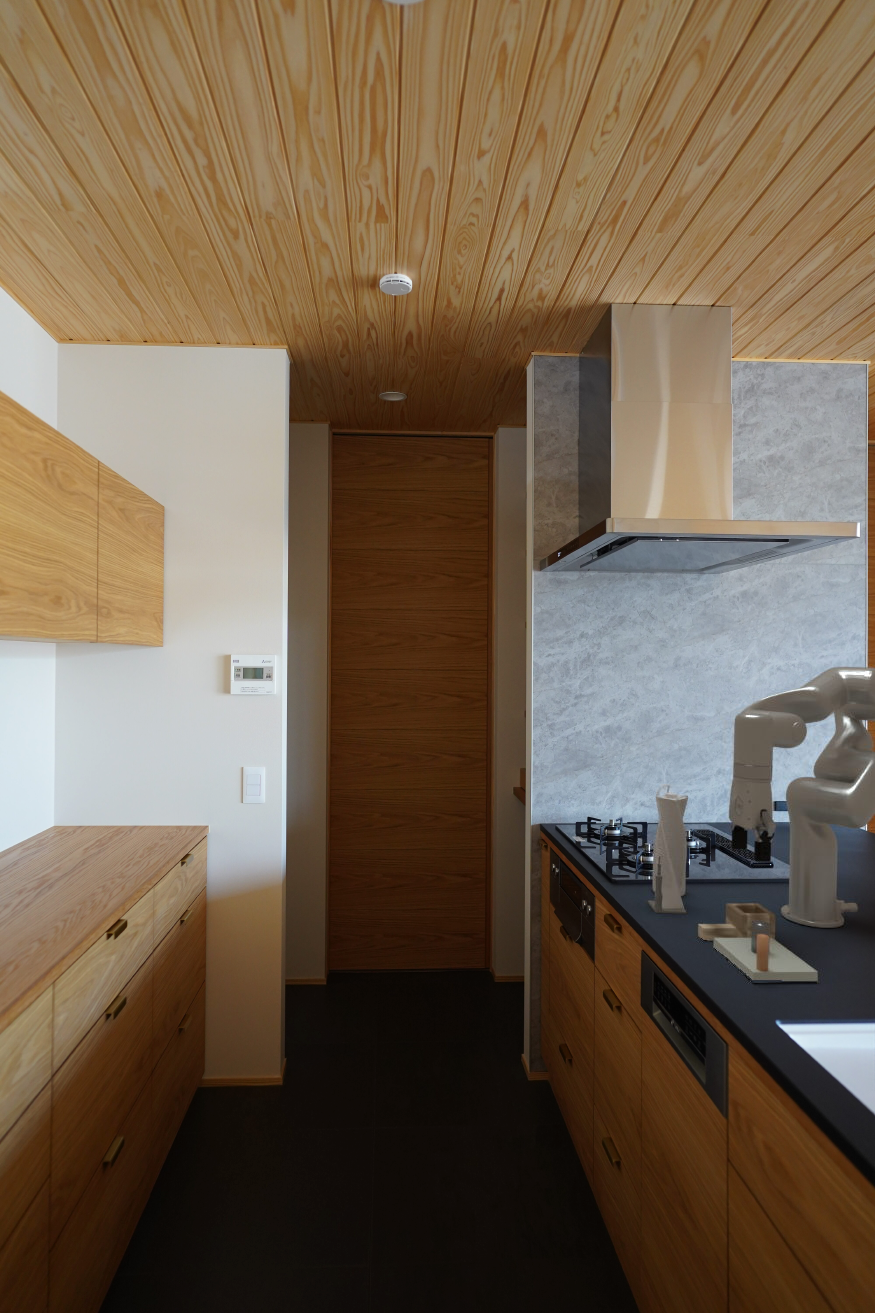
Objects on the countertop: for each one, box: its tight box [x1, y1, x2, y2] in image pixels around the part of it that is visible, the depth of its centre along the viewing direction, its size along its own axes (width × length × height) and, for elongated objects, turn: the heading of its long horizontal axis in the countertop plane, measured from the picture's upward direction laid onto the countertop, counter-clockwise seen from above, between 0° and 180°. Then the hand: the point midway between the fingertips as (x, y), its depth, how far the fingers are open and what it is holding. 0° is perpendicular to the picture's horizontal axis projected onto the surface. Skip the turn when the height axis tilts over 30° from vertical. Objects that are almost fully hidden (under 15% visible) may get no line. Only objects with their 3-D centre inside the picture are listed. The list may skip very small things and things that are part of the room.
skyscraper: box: [647, 784, 689, 915], centre depth 171 cm, size 8×8×28 cm
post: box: [751, 920, 770, 954], centre depth 141 cm, size 3×3×6 cm
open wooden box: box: [697, 902, 776, 941], centre depth 153 cm, size 14×7×6 cm, turn 94°
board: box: [713, 938, 819, 982], centre depth 140 cm, size 12×16×2 cm
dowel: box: [756, 934, 769, 972], centre depth 133 cm, size 2×2×6 cm
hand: (750, 854), depth 153 cm, fingers open, 9 cm apart
